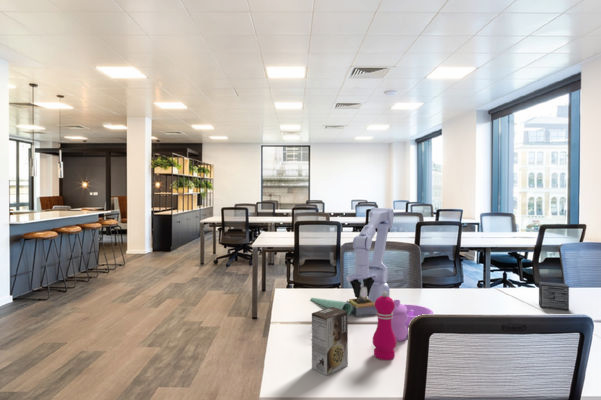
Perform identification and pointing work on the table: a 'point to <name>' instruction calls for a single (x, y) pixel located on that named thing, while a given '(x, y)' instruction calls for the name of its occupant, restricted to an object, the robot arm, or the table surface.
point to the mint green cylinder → (334, 304)
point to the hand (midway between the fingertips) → (361, 296)
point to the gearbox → (362, 308)
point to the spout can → (362, 294)
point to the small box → (554, 296)
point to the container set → (405, 318)
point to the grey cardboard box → (329, 340)
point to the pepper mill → (384, 328)
